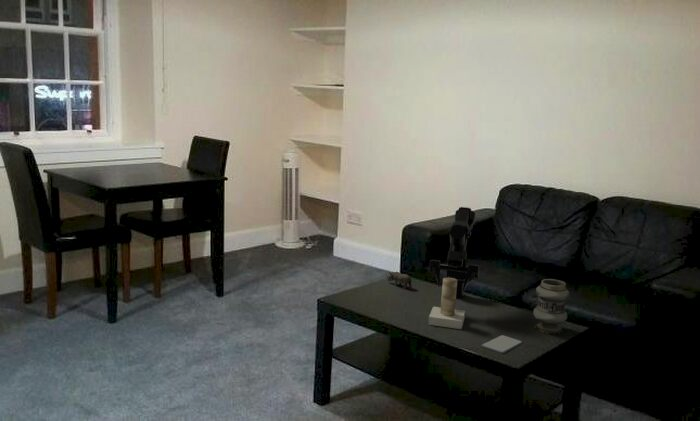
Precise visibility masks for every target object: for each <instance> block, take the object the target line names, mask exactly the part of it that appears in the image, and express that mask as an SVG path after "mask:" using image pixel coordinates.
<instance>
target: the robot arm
mask: <svg viewBox="0 0 700 421" xmlns="http://www.w3.org/2000/svg"><path fill="white" fill-rule="evenodd" d="M475 223H476V212H475V211H473V210H472V208H471V207H466V206H461V207H460V206H459V207H458V209H457V210H455V214H454V221H453V222H452V226H450V228H449V229H448V236H449V243H450V244H449V249H448V251H447V258H446V264H441V260H438V259H430V260H429V263H428V268H429V273H432V275H433V276H435V278H436V281H437V286H438V288H440V287H441V270H445V271H446V277H445V278H454V279H457V290H456V299H460V298H463V297H466V296H467V294H466V293H464V291H465V290H466V288H467V287H468V285H469V283H470V282H471V281H472V280H473V281H474V280H476V279H478V278H479V275H480V266H479V265H478V264H470V263H469V264H468V265H467V261H466V260H467V255H468V254H467V253H468V250H467V242H468V238H470V237H471V235H472V232H471V231H472V230H473V226H474V225H475Z"/></svg>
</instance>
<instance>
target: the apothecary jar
mask: <svg viewBox="0 0 700 421" xmlns="http://www.w3.org/2000/svg"><path fill="white" fill-rule="evenodd" d="M566 285H567V284H566V282H565V281H563V280H558V279H555V278H554V279H553V278H545V279H542V280H541V281H540V284H539V285H537V287H536V289H535V295H537V305H536V307H534V309H533V310H532V311H533V312H532V314H533V316H534V318H535V319H536V320H537V321H539V322H538V323H536V324H535V325H534V329H536V330H538V332H541V333H544V332H545V333H544V334H549V333H559V334H561V333H563V329H562V327H561V326H559V325H561V324H563V323H565V321H567V319H568V313H567V311H566V309H565V307H566V300H567V299H568V298H570V291H569V289H567V288H566V287H567V286H566ZM560 332H561V333H560Z"/></svg>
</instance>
